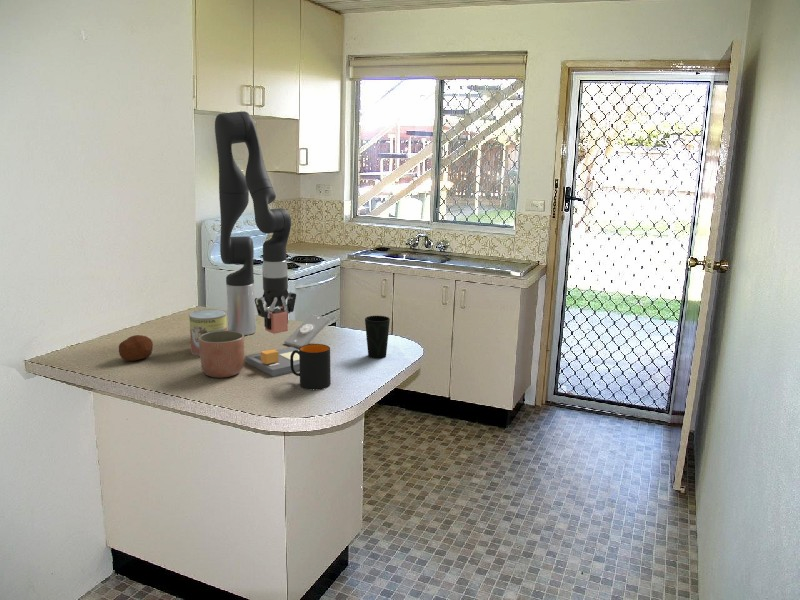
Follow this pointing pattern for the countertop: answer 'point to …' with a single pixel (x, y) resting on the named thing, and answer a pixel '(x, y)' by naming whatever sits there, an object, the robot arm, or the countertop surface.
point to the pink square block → (278, 321)
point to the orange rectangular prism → (269, 356)
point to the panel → (276, 367)
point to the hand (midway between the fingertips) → (276, 327)
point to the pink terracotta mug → (221, 353)
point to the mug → (313, 366)
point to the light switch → (307, 331)
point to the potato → (135, 348)
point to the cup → (377, 336)
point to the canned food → (205, 325)
